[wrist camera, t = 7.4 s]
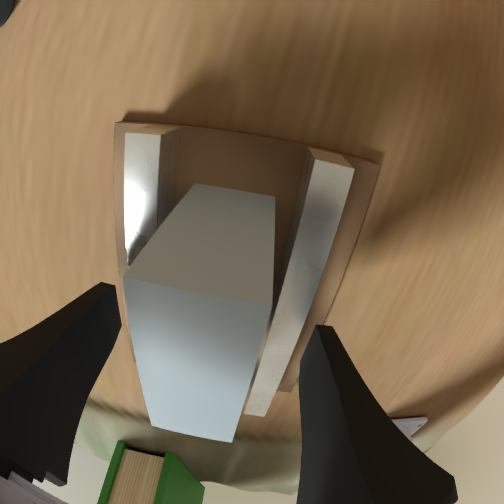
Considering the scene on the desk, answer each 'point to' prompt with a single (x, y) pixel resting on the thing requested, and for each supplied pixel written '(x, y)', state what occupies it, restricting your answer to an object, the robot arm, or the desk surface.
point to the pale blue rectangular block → (202, 308)
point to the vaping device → (5, 10)
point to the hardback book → (148, 479)
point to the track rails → (295, 252)
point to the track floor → (261, 182)
